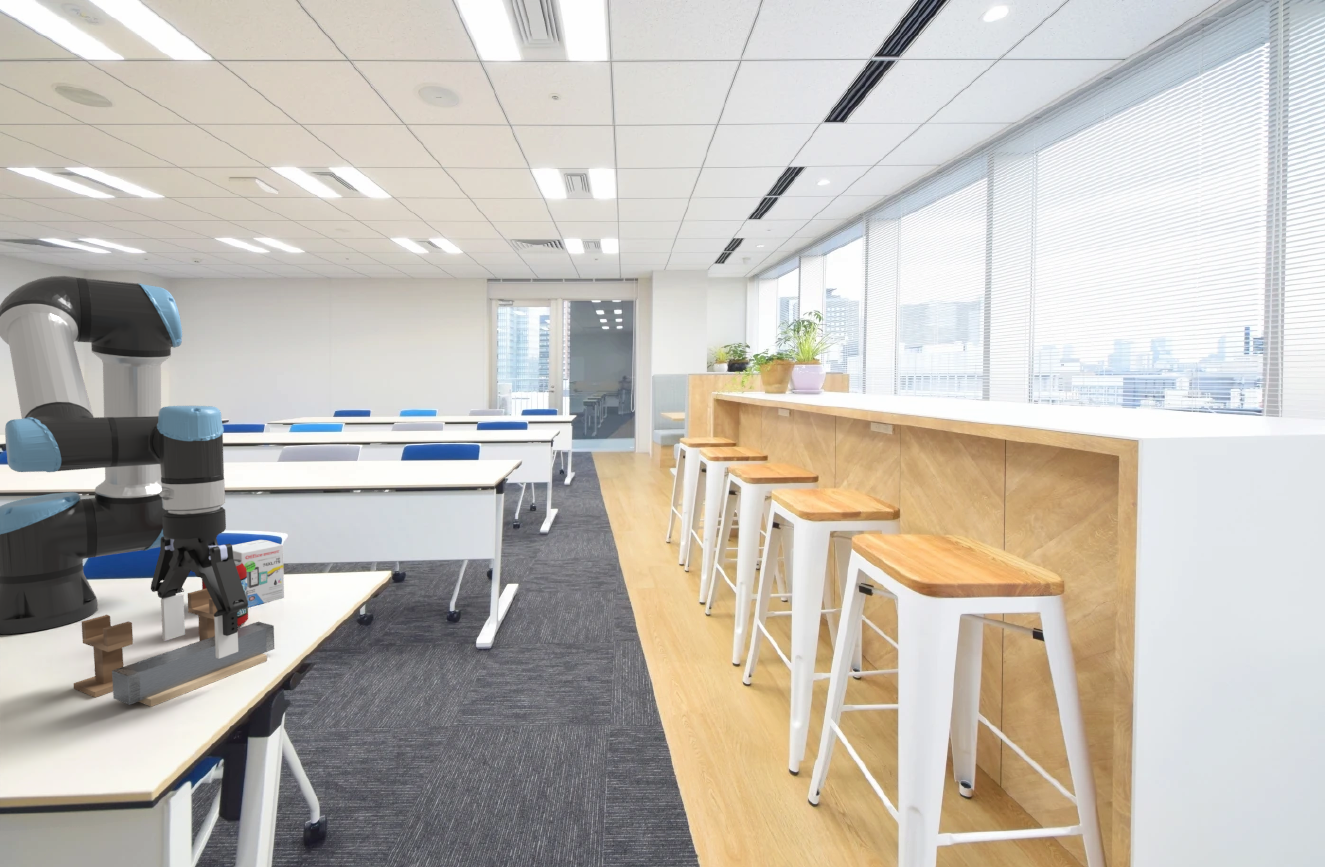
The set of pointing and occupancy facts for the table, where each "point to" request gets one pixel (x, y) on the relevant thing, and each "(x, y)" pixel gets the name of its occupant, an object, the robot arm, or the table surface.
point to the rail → (187, 664)
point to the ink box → (262, 570)
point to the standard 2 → (203, 612)
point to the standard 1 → (104, 652)
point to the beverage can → (242, 572)
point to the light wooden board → (203, 681)
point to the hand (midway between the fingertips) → (199, 645)
